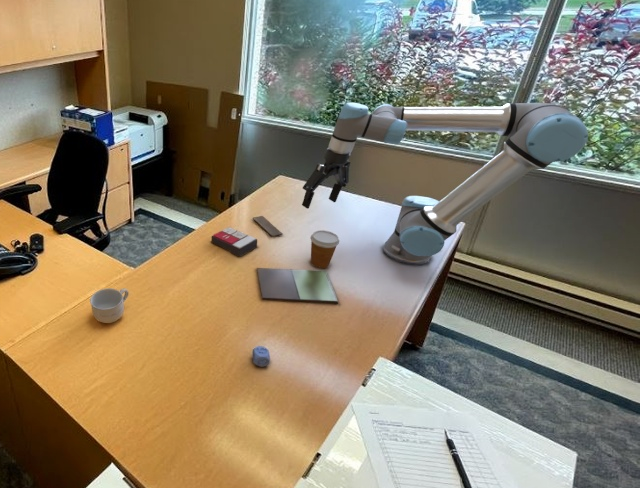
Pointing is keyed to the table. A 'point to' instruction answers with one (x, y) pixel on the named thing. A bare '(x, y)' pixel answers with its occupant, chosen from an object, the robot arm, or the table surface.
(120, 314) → the teacup
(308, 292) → the board
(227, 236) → the red and grey box
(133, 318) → the table surface
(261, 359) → the decorative dice
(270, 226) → the wooden plank
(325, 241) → the disposable coffee cup
